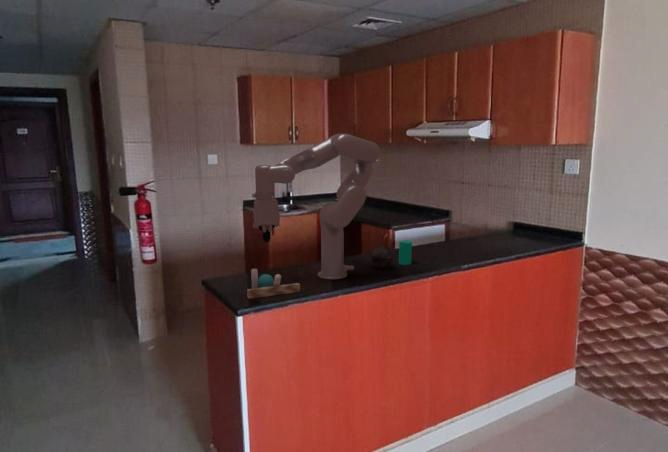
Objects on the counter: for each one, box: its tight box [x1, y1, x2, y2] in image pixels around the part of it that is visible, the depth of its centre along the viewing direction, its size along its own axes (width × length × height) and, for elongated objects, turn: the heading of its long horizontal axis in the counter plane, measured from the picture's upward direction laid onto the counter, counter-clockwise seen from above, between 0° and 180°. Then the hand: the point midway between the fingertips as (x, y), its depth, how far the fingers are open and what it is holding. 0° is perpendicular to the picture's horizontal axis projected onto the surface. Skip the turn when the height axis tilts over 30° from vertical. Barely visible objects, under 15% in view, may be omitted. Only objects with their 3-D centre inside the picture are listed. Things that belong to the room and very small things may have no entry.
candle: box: [398, 238, 413, 266], centre depth 220 cm, size 6×6×12 cm
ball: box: [258, 273, 274, 288], centre depth 181 cm, size 6×6×6 cm
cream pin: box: [273, 273, 282, 286], centre depth 177 cm, size 2×2×9 cm
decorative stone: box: [371, 245, 394, 269], centre depth 212 cm, size 10×10×10 cm
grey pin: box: [250, 268, 259, 289], centre depth 177 cm, size 2×2×9 cm
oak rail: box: [246, 282, 301, 299], centre depth 175 cm, size 20×2×3 cm, turn 113°
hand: (266, 241), depth 188 cm, fingers closed
